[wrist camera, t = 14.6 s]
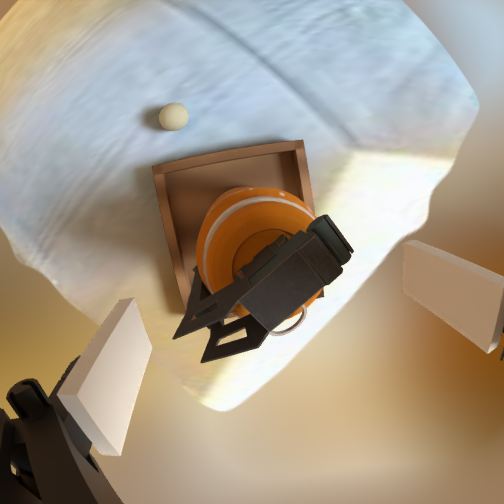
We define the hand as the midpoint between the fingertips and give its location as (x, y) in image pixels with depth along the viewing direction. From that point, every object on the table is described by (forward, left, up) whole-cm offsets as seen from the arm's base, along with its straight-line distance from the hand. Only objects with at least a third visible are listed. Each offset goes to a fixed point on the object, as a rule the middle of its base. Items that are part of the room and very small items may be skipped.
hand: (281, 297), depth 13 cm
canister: (0, -1, -20) cm, 20 cm away
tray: (0, 0, -21) cm, 21 cm away
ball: (-14, -5, -21) cm, 25 cm away
